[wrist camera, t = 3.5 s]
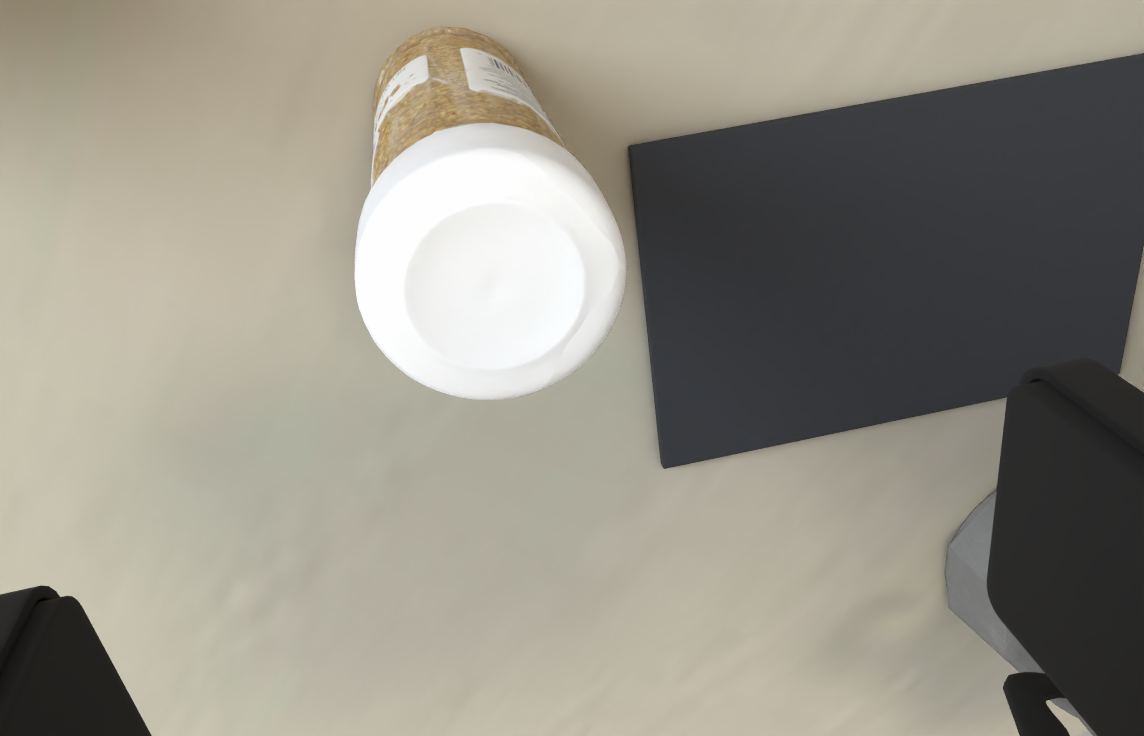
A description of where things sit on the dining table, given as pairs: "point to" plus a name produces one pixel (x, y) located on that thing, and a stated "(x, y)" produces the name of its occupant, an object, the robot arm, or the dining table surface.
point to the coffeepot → (1000, 627)
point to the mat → (887, 255)
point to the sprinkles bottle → (480, 227)
